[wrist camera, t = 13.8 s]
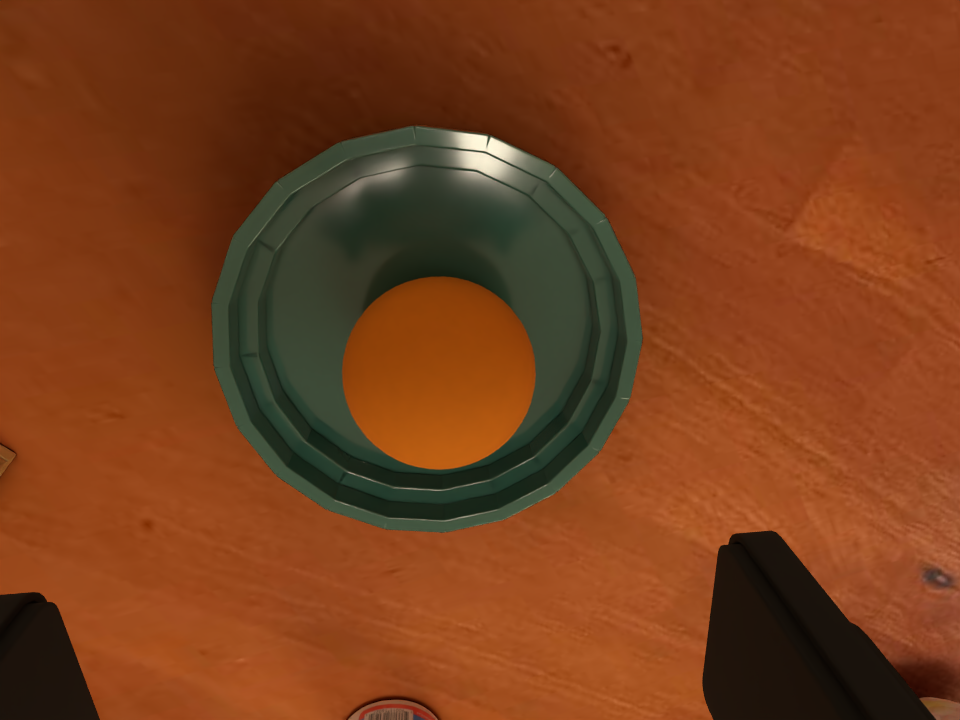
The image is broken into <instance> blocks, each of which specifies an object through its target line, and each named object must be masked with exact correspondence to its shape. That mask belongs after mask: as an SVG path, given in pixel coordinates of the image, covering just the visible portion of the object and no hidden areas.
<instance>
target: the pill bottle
mask: <svg viewBox="0 0 960 720" xmlns="http://www.w3.org/2000/svg"><path fill="white" fill-rule="evenodd" d="M348 720H438V719H437V718H436V717H435V716H434V714H433V713H431V712H430V711H429V710H428V709H426V708H425V707H423V706H421V705H419V704H417V703H414V702H411V701H406V700H385V701H379V702H376V703H372V704H369V705H367V706H365V707H363V708H361V709H360V710H358V711H357V712H355V713H354V714H353V715H352V716H351V717H350V718H349V719H348Z"/></svg>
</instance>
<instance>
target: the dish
mask: <svg viewBox="0 0 960 720" xmlns="http://www.w3.org/2000/svg"><path fill="white" fill-rule="evenodd" d="M441 276H445V277H454V278H459V279H463V280H467V281H470V282H473V283H475V284H478V285H480V286H482V287H484V288H486V289H488V290H489V291H491V292H492V293H494V294H495V295H497V296H498V297H499V298H501V299H502V300H503V301H504V302H505V303H506V304H507V305H508V306H509V307H510V308H511V309H512V310H513V312H514V313H515V314H516V316H517V317H518V318H519V320H520V321H521V323H522V324H523V326H524V328H525V330H526V332H527V334H528V337H529V340H530V342H531V345H532V348H533V353H534V358H535V372H536V377H535V387H534V392H533V396H532V401H531V404H530V406H529V409H528V412H527V414H526V416H525V417H524V419H523V421H522V423H521V424H520V426H519V427H518V429H517V430H516V432H515V433H514V434H513V435H512V437H511V438H510V439H509V440H508V441H507V442H506V443H505V444H504V445H502V446H501V447H500V448H499V449H498V450H496V451H495V452H493V453H492V454H490V455H489V456H487V457H485V458H483V459H481V460H479V461H477V462H475V463H472V464H470V465H466V466H462V467H458V468H452V469H426V468H420V467H415V466H412V465H408V464H405V463H403V462H400V461H398V460H396V459H394V458H392V457H391V456H389V455H387V454H386V453H384V452H383V451H382V450H380V449H379V448H378V447H376V446H375V445H374V444H373V443H372V442H371V441H370V440H369V439H368V438H367V437H366V436H365V435H364V433H363V432H362V431H361V429H360V428H359V427H358V425H357V424H356V422H355V420H354V418H353V417H352V415H351V412H350V409H349V407H348V404H347V401H346V398H345V394H344V389H343V378H342V366H343V357H344V353H345V348H346V345H347V341H348V339H349V336H350V334H351V331H352V330H353V328H354V326H355V324H356V322H357V321H358V319H359V318H360V317H361V315H362V314H363V313H364V311H365V310H366V309H367V308H368V307H369V306H370V305H371V304H372V303H373V302H374V301H375V300H376V299H377V298H379V297H380V296H381V295H383V294H384V293H385V292H387V291H389V290H390V289H392V288H394V287H396V286H398V285H401V284H403V283H405V282H408V281H412V280H415V279H419V278H426V277H441ZM211 310H212V338H213V365H214V367H215V368H214V370H215V372H216V375H217V378H218V380H219V383H220V385H221V388H222V391H223V393H224V396H225V398H226V401H227V403H228V406H229V409H230V411H231V414H232V416H233V419H234V421H235V424H236V426H238V427H237V428H238V429H239V431H240V432H241V433H242V434H243V435H244V437H245V438H246V439H247V440H248V442H249V443H250V444H251V445H252V447H253V448H254V449H255V450H256V451H257V453H258V454H259V455H260V456H261V458H262V459H263V460H264V461H265V463H266V464H267V465H268V466H269V467H270V469H271V470H272V471H273V472H274V474H276V475H277V477H279V478H280V479H282V480H283V481H285V482H286V483H288V484H289V485H290V486H292V487H293V488H295V489H296V490H298V491H299V492H301V493H302V494H304V495H305V496H307V497H308V498H310V499H311V500H313V501H314V502H316V503H317V504H319V505H320V506H322V507H323V508H324V509H326V510H327V509H328V510H329V511H331V512H335V513H338V514H341V515H344V516H347V517H350V518H353V519H356V520H359V521H362V522H365V523H368V524H371V525H374V526H377V527H380V528H383V529H384V528H385V529H387V530H405V531H424V532H442V533H444V532H450V531H455V530H459V529H464V528H469V527H474V526H478V525H483V524H488V523H492V522H497V521H502V520H503V519H504V520H505V519H507V518H509V517H511V516H513V515H515V514H517V513H519V512H520V511H522V510H524V509H526V508H528V507H530V506H532V505H534V504H536V503H538V502H540V501H542V500H544V499H546V498H548V497H550V496H552V495H553V494H555V493H556V492H558V491H559V490H560V489H561V488H562V487H563V486H564V485H565V484H566V483H567V482H568V481H570V480H571V479H572V478H573V477H574V476H575V475H576V474H577V473H578V472H579V471H580V470H581V469H582V468H583V467H584V466H586V465H587V464H588V463H589V462H590V461H591V460H592V459H593V458H594V457H595V456H596V455H597V454H598V453H599V451H601V449H602V447H603V446H604V444H605V442H606V440H607V439H608V437H609V435H610V434H611V432H612V430H613V428H614V427H615V425H616V423H617V421H618V420H619V418H620V416H621V414H622V413H623V411H624V409H625V408H626V406H627V404H628V402H629V399H630V397H631V392H632V388H633V383H634V378H635V374H636V369H637V364H638V360H639V355H640V351H641V346H642V340H643V336H642V327H641V318H640V309H639V301H638V292H637V283H636V277H635V274H634V272H633V270H632V268H631V266H630V264H629V262H628V260H627V258H626V256H625V254H624V251H623V249H622V247H621V245H620V243H619V241H618V239H617V237H616V235H615V233H614V231H613V229H612V227H611V225H610V222H609V220H608V218H607V217H605V214H604V213H603V212H602V211H601V210H600V209H599V208H598V207H597V206H596V205H595V204H594V203H593V202H592V201H591V200H590V199H589V198H588V197H587V196H586V195H585V194H584V193H583V192H582V191H581V190H580V189H579V188H578V187H577V186H576V185H575V184H574V183H573V182H572V181H571V180H570V179H569V178H568V177H567V176H566V175H565V174H564V173H563V172H562V171H561V170H560V169H559V168H557V167H555V165H553V164H551V163H549V162H547V161H545V160H542V159H540V158H538V157H536V156H534V155H532V154H530V153H528V152H526V151H524V150H522V149H520V148H518V147H516V146H514V145H511V144H509V143H507V142H505V141H503V140H501V139H499V138H497V137H495V136H493V135H491V134H488V133H484V132H480V131H471V130H463V129H454V128H446V127H438V126H429V125H421V124H418V125H416V124H413V125H409V126H404V127H399V128H395V129H390V130H386V131H381V132H377V133H372V134H367V135H363V136H358V137H354V138H349V139H346V140H343V141H341V142H338V143H336V144H335V145H333V146H331V147H330V148H328V149H327V150H325V151H323V152H322V153H320V154H318V155H317V156H315V157H314V158H312V159H310V160H309V161H307V162H306V163H304V164H302V165H301V166H299V167H298V168H296V169H294V170H293V171H291V172H289V173H288V174H286V175H285V176H283V177H281V178H280V179H278V181H276V182H275V183H274V184H273V185H272V187H271V188H270V189H269V191H268V192H267V193H266V194H265V196H264V197H263V198H262V199H261V201H260V202H259V203H258V205H257V206H256V207H255V208H254V210H253V211H252V212H251V213H250V215H249V216H248V217H247V219H246V220H245V221H244V222H243V224H242V225H241V226H240V227H239V229H238V230H237V231H236V232H235V234H234V235H233V238H232V239H231V242H230V245H229V248H228V251H227V255H226V258H225V261H224V264H223V267H222V270H221V273H220V276H219V279H218V282H217V285H216V288H215V292H214V295H213V298H212V303H211Z"/></svg>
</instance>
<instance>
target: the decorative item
mask: <svg viewBox="0 0 960 720" xmlns="http://www.w3.org/2000/svg"><path fill="white" fill-rule="evenodd" d="M919 699H920V700H921V701H922V703H923V704H924V705H925V706H926V707H927V709H928V710H929V711H930V712H931V714H932V715H933V716H934V717H935V718H936V720H960V703H957V702H953V701H950V700H947V699H939V698H933V697H923V698H919Z"/></svg>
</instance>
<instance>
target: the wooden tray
mask: <svg viewBox="0 0 960 720" xmlns="http://www.w3.org/2000/svg"><path fill="white" fill-rule="evenodd" d="M15 456H16V454H15V453H14V452H12V451H10V450H9V449H7V448H5V447H4V446H2V445H1V444H0V476H1V475H2V473H3V472H4V471H5V469H6V468H7V467H8V465H9V464H10V463H11V462H12V460H13V459H14V458H15Z"/></svg>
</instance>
